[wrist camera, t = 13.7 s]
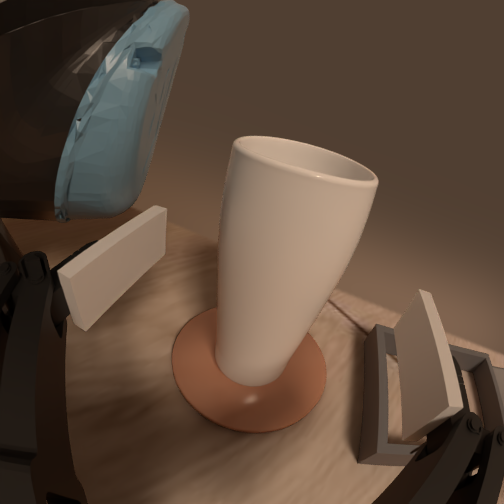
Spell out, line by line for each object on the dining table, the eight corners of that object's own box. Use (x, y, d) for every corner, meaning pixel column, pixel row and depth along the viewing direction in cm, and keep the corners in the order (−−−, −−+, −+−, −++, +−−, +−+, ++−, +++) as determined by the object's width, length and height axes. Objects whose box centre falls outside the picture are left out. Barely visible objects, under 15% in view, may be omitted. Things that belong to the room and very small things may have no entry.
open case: (357, 463, 13) (376, 452, 12) (364, 341, 24) (376, 323, 22) (548, 442, 8) (561, 431, 7) (531, 377, 19) (541, 366, 17)
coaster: (142, 390, 16) (141, 386, 15) (210, 293, 26) (210, 288, 25) (310, 452, 14) (313, 449, 14) (329, 333, 24) (332, 329, 24)
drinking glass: (308, 382, 18) (409, 190, 10) (222, 410, 15) (279, 175, 7) (269, 319, 23) (321, 144, 15) (193, 334, 20) (212, 130, 12)
